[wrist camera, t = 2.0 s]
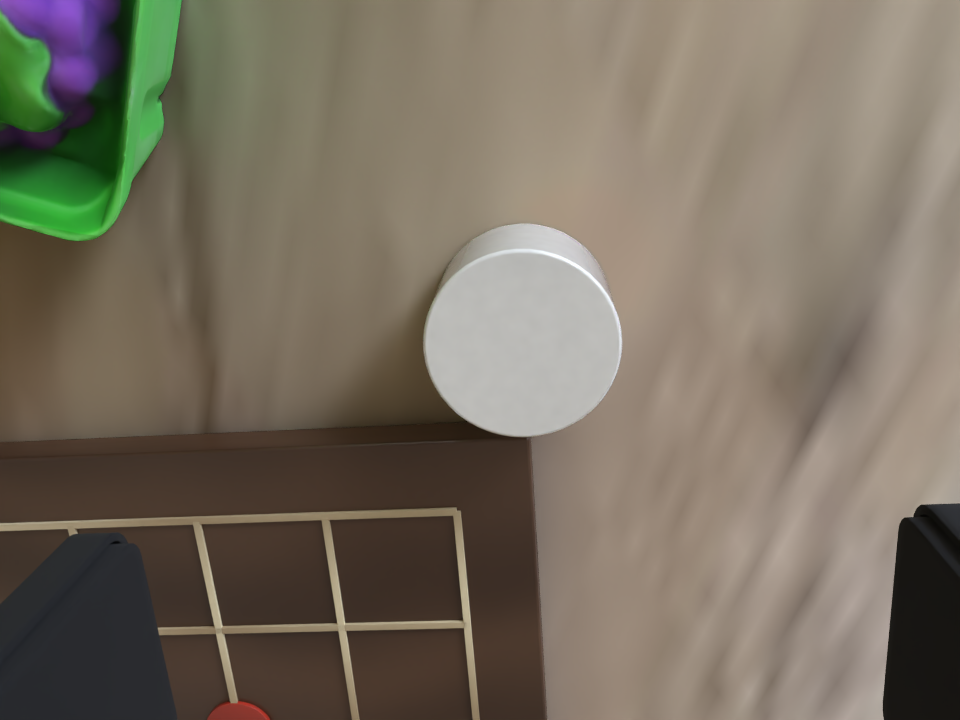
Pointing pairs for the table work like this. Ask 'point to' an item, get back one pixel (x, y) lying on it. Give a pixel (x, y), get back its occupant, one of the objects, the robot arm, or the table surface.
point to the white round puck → (523, 332)
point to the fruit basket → (79, 107)
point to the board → (310, 564)
